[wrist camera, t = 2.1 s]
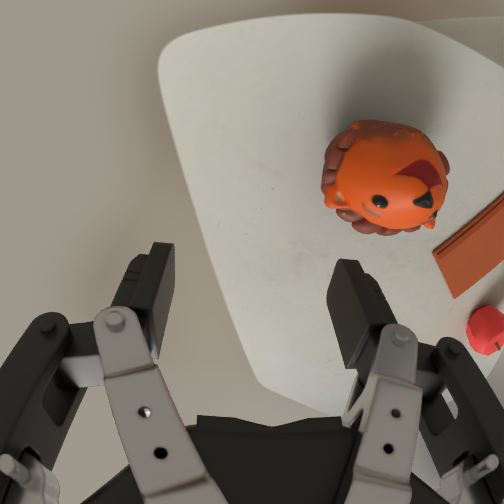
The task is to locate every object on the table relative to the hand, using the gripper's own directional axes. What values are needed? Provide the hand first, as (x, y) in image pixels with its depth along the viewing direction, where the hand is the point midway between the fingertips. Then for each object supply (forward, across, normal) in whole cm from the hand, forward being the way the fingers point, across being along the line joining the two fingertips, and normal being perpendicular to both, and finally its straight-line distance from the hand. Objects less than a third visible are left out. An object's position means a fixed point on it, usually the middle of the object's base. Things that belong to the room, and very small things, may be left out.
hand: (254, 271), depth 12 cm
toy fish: (+20, -12, 0) cm, 23 cm away
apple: (+20, -42, +21) cm, 51 cm away
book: (+20, -33, +8) cm, 39 cm away
